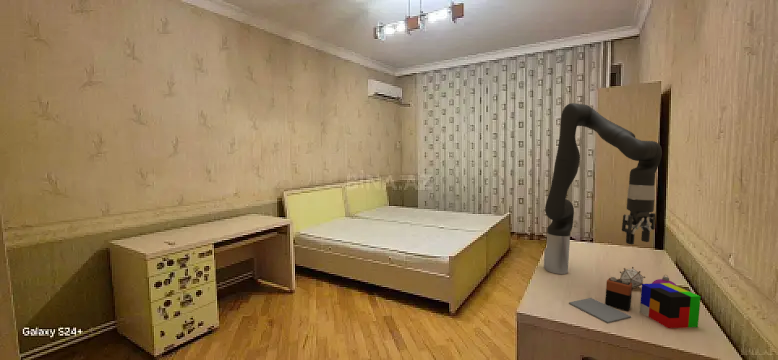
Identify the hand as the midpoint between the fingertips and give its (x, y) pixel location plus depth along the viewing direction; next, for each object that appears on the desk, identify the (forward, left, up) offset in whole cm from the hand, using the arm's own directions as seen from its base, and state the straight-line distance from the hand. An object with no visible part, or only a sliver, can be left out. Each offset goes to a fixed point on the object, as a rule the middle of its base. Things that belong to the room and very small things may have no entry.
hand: (637, 242), depth 111 cm
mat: (0, -17, -22) cm, 28 cm away
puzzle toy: (+11, -2, -23) cm, 25 cm away
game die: (-9, +13, -22) cm, 27 cm away
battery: (0, -8, -22) cm, 24 cm away
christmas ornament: (+3, +12, -22) cm, 26 cm away
